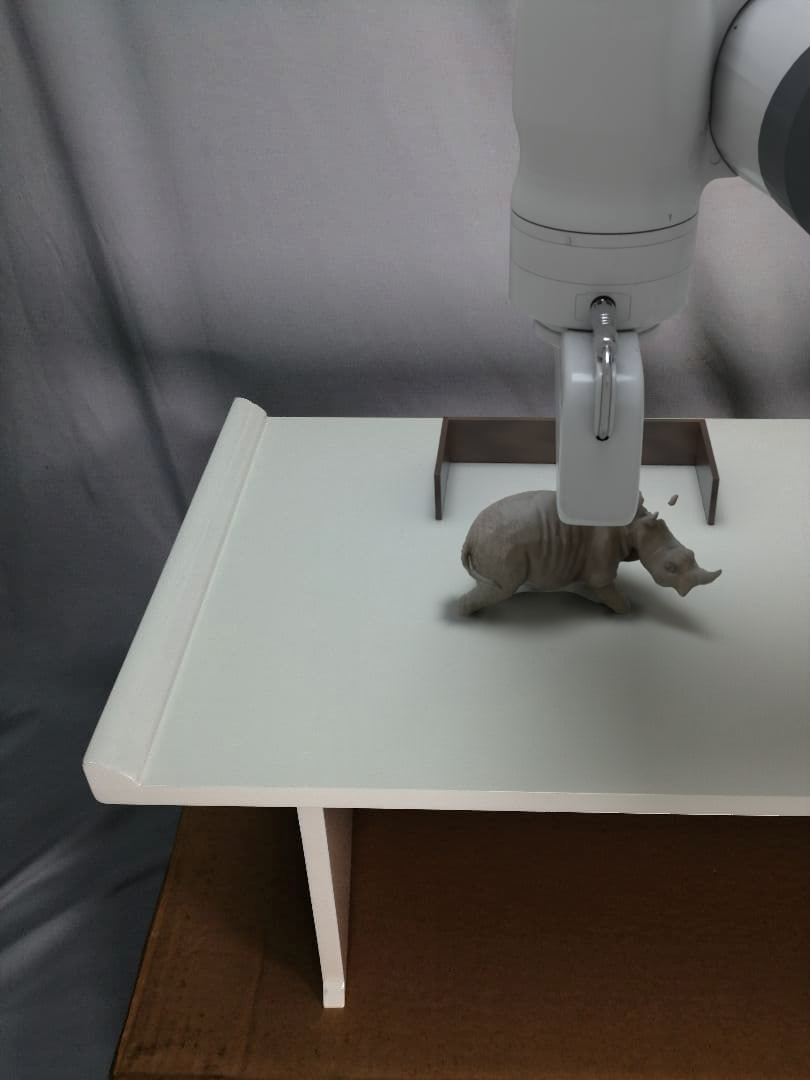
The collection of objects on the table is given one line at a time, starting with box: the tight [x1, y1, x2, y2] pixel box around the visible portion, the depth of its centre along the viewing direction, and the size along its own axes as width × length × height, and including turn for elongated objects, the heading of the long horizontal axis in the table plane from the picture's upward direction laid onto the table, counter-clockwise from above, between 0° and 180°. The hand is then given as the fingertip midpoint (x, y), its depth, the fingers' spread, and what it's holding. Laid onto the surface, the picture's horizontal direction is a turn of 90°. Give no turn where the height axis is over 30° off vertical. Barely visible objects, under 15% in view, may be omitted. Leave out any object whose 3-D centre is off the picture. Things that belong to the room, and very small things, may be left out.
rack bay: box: [433, 416, 720, 525], centre depth 92 cm, size 21×10×4 cm, turn 84°
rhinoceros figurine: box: [456, 489, 723, 617], centre depth 78 cm, size 8×14×15 cm
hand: (585, 506), depth 65 cm, fingers closed
